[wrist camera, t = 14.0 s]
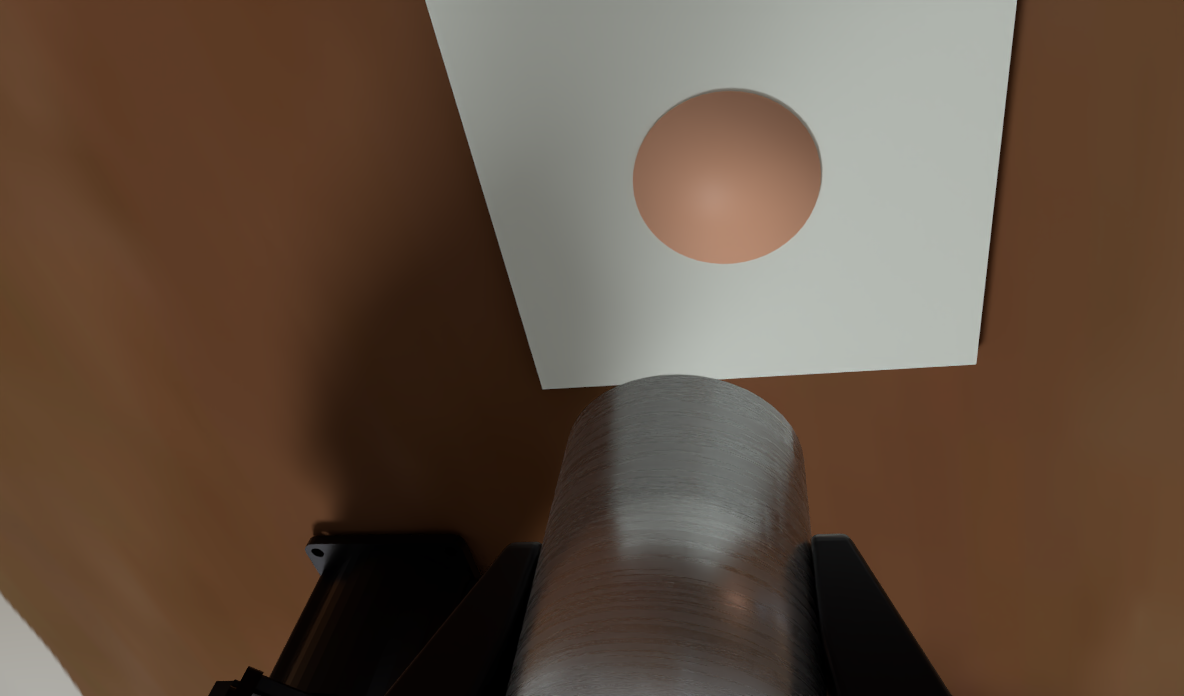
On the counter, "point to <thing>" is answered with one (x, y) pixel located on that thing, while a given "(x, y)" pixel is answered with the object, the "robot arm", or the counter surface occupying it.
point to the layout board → (736, 178)
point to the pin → (675, 552)
